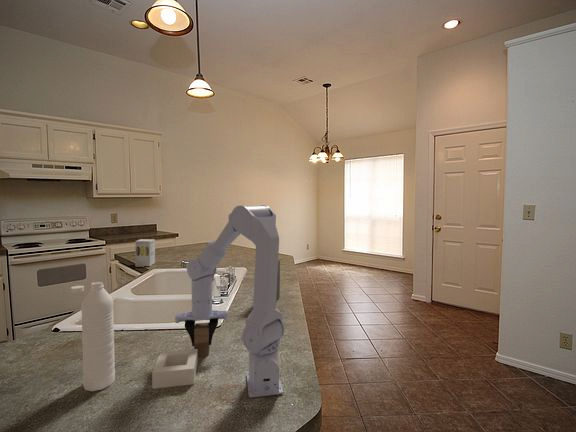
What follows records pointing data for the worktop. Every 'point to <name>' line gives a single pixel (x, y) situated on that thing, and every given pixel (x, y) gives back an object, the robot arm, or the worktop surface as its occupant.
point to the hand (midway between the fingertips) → (202, 344)
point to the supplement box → (144, 252)
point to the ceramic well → (175, 368)
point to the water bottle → (97, 337)
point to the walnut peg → (201, 338)
